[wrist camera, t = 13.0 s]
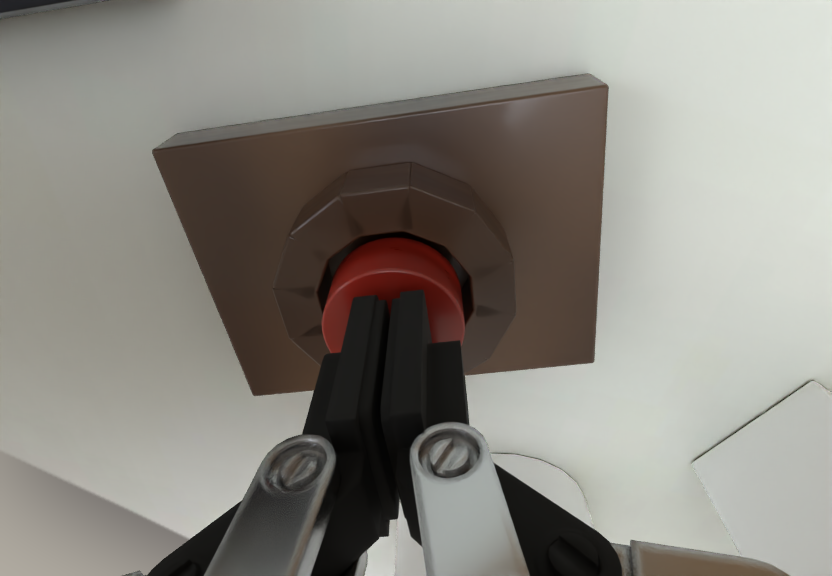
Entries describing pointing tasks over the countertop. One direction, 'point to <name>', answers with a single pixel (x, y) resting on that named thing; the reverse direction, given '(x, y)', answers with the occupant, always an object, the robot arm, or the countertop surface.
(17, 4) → the panel
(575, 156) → the brown button base
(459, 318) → the timer button
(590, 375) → the countertop surface
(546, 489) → the cylinder with rectangular tab
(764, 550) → the milk
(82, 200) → the countertop surface
